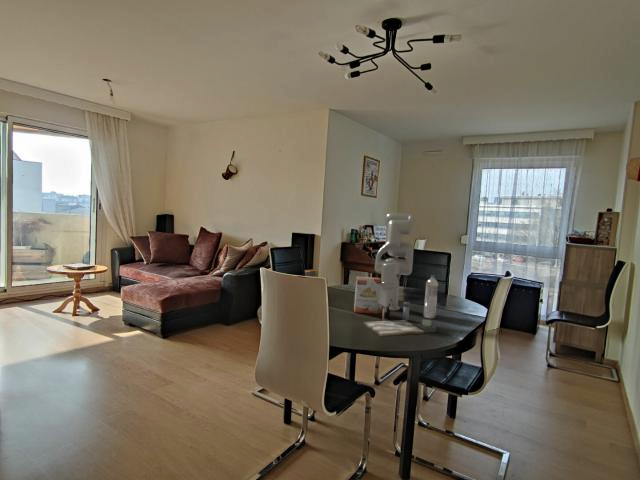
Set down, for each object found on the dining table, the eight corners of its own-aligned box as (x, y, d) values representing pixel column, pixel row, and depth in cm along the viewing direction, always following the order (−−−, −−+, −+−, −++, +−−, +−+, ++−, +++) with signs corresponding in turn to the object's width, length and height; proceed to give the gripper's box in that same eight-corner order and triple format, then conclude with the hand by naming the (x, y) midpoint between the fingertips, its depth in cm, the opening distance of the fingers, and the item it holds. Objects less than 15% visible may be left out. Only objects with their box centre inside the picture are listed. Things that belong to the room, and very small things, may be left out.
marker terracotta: (380, 319, 208) (381, 302, 207) (385, 319, 209) (387, 302, 208) (383, 321, 204) (384, 303, 204) (389, 321, 206) (390, 303, 205)
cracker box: (354, 312, 219) (357, 277, 217) (353, 310, 225) (356, 276, 223) (378, 314, 219) (381, 279, 218) (376, 311, 225) (379, 277, 224)
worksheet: (363, 323, 198) (363, 321, 198) (404, 322, 206) (404, 319, 206) (380, 335, 180) (380, 333, 180) (424, 333, 188) (424, 330, 188)
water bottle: (427, 319, 215) (430, 276, 213) (420, 315, 222) (424, 274, 220) (437, 318, 217) (441, 276, 215) (431, 315, 223) (434, 274, 222)
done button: (419, 326, 195) (420, 319, 195) (427, 325, 197) (427, 319, 196) (425, 328, 191) (425, 322, 191) (432, 328, 192) (433, 321, 192)
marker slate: (401, 319, 212) (402, 302, 211) (406, 319, 213) (407, 301, 212) (404, 321, 208) (405, 303, 208) (409, 320, 209) (411, 303, 209)
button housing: (416, 328, 196) (416, 323, 196) (427, 327, 198) (427, 323, 198) (424, 332, 189) (424, 327, 189) (435, 331, 192) (436, 327, 192)
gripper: (374, 282, 212) (372, 314, 213) (388, 288, 196) (386, 322, 198) (386, 282, 214) (383, 313, 215) (401, 288, 199) (398, 322, 200)
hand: (385, 317), depth 206 cm, fingers closed on marker terracotta, 3 cm apart
